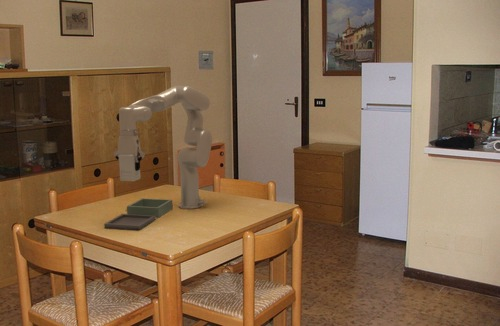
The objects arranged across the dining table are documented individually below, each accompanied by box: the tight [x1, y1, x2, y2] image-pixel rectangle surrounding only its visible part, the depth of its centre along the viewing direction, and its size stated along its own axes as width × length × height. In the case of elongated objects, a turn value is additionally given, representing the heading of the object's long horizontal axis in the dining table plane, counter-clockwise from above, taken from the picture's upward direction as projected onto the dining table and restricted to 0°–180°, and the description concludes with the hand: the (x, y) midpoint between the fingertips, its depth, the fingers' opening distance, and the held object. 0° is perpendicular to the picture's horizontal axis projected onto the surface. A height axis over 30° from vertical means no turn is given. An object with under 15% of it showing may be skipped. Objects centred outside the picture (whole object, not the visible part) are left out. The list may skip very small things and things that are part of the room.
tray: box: [103, 213, 157, 232], centre depth 277 cm, size 18×18×2 cm
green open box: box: [126, 197, 174, 219], centre depth 297 cm, size 17×17×5 cm
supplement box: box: [118, 153, 142, 182], centre depth 274 cm, size 7×7×13 cm
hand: (129, 169), depth 275 cm, fingers closed on supplement box, 7 cm apart
